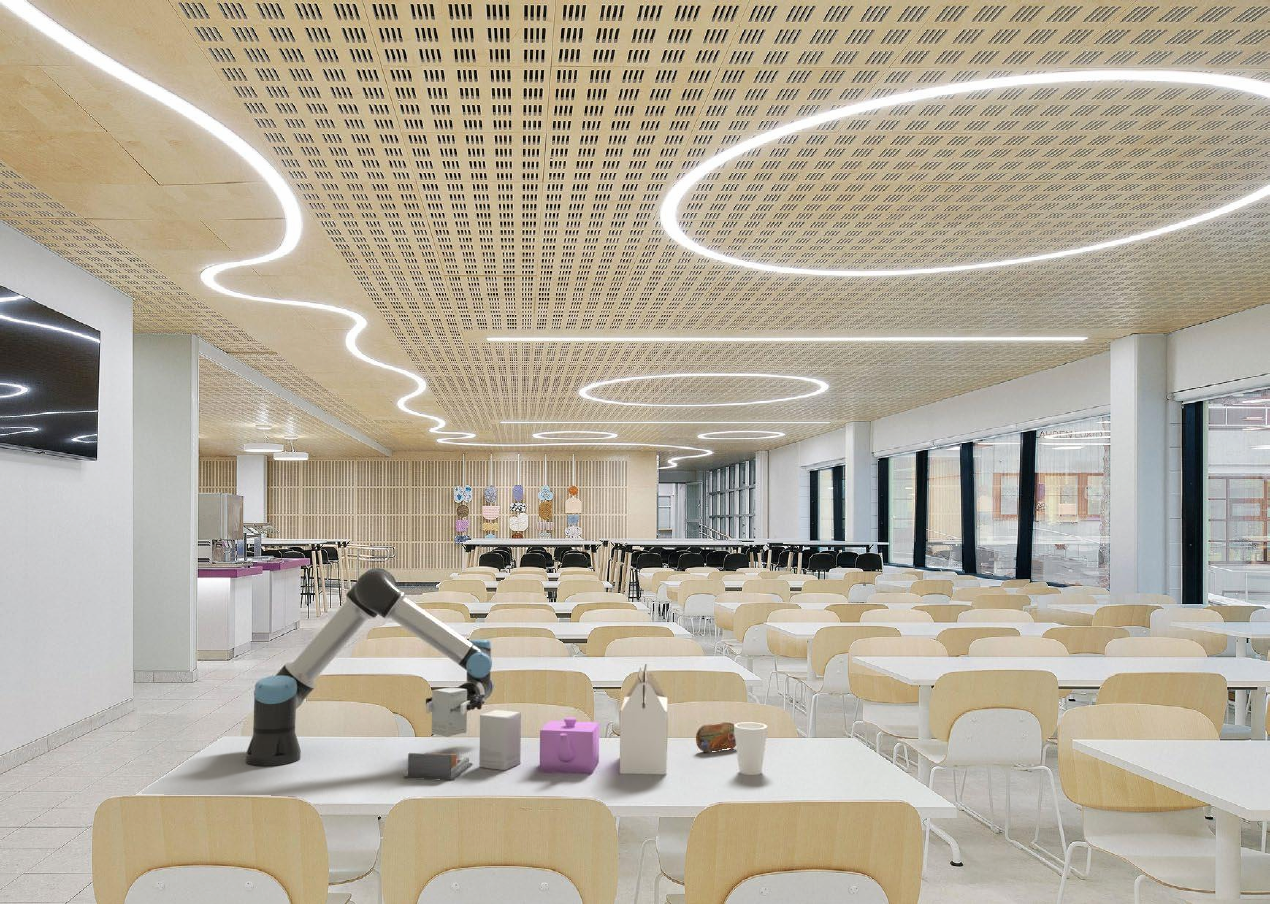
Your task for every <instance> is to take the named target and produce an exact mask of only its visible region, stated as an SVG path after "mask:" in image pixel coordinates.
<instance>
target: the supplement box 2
mask: <svg viewBox="0 0 1270 904" xmlns="http://www.w3.org/2000/svg"><path fill="white" fill-rule="evenodd" d="M521 730H522V712H520V711H519V712H518V711H511V710H501V709H494V710H491V711H489V712H486V713H485V712H484V713H482V714H480V715H479V762H478V763H479V767H478V768H483V767H484V769H491V770H492V769H493V770H499V771H500V770H501V771H507V770H509V769H511V768H513V767H515V766H518V765H520V764H521V750H522V749H521V746H522V745H521V741H522V740H521V738H522V737H521V736H522V735H521V732H522V731H521Z"/></svg>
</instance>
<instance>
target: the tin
mask: <svg viewBox="0 0 1270 904" xmlns="http://www.w3.org/2000/svg"><path fill="white" fill-rule="evenodd" d="M734 725H735V724H734V723H731V722H719V723H712V724H709V723H708V724H704V725H702V726H701V727H700V728H699V729H698V730H697V732H696V735H695V742H696V746H697V748H698V749H699V750H700V751H702V752H705V753H707V754H711V753H710V752H712V751H719V750H722V749H727V748H733V749H734V748H735V747H736V740H735V734H734Z"/></svg>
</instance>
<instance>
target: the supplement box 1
mask: <svg viewBox="0 0 1270 904" xmlns="http://www.w3.org/2000/svg"><path fill="white" fill-rule="evenodd" d="M431 695H432V696H431V697H432V712H431V734H433V735H437V736H440V737H446V738H449V737H452V736H456V735H461V734H466V733H467V725H468V724H467V714H468V712H466V713H465V714H460V705H461V704H463V703H464V702H466V701H467V689H462V688H458V687H452V686H449V687H444V688H439V689H433V690H432V693H431Z"/></svg>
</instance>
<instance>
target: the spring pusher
mask: <svg viewBox="0 0 1270 904" xmlns="http://www.w3.org/2000/svg"><path fill="white" fill-rule="evenodd" d="M424 754H442V755H451V768H452V767H453V766H455V765H456V764H457V763H458V759H459V754H458V753H443V752H442V753H441V752H439V753H436V752H425V753H424Z"/></svg>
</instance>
